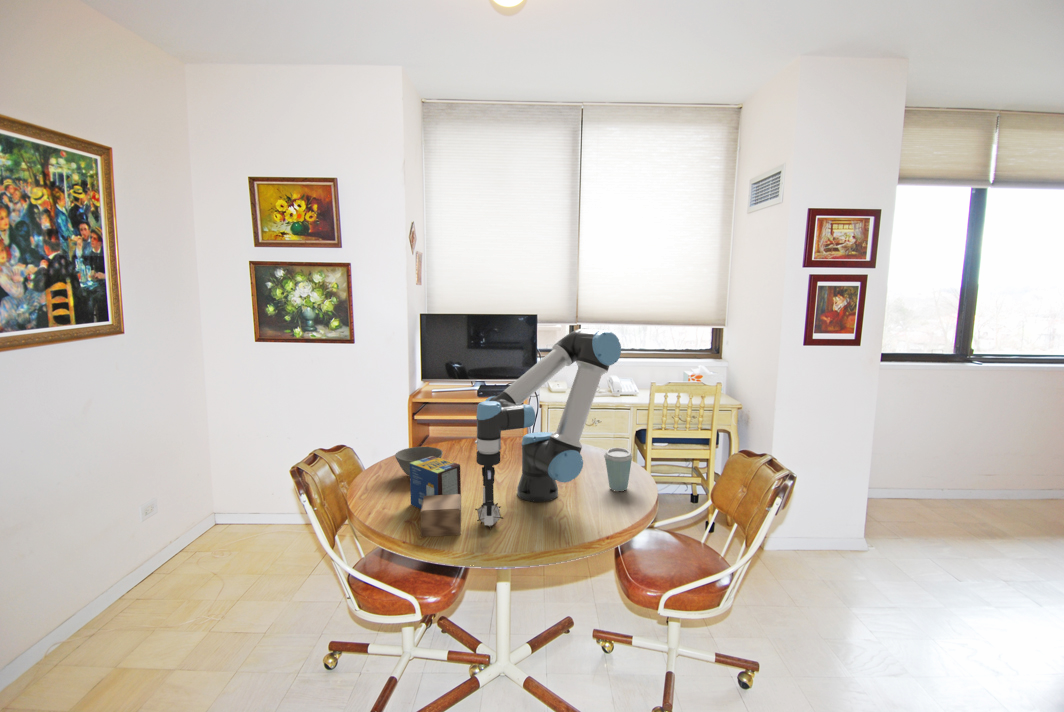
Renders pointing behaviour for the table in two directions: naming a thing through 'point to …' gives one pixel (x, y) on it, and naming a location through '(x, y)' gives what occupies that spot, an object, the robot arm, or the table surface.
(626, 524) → the table surface
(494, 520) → the game die
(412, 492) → the protein box
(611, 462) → the disposable coffee cup
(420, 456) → the bowl
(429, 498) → the walnut block
